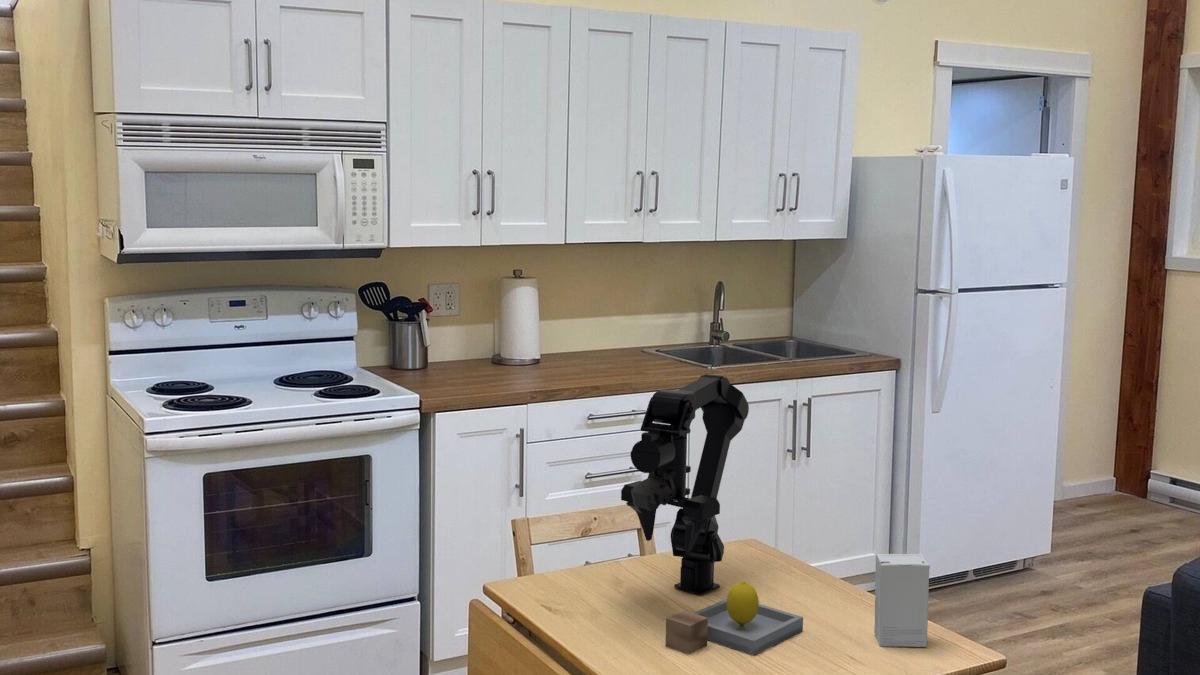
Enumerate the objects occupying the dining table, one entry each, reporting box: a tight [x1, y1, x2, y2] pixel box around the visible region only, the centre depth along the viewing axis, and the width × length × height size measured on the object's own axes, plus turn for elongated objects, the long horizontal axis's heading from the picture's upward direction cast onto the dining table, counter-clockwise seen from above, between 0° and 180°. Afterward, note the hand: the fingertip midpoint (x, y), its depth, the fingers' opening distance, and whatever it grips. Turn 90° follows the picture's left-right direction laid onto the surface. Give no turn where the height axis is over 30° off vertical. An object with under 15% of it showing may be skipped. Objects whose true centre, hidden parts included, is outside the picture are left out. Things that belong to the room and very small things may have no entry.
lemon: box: [726, 580, 760, 626], centre depth 206 cm, size 6×6×8 cm
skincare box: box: [873, 553, 931, 648], centre depth 202 cm, size 8×6×15 cm
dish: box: [693, 598, 804, 656], centre depth 206 cm, size 15×15×2 cm
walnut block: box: [665, 610, 708, 655], centre depth 199 cm, size 5×5×5 cm
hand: (668, 545), depth 214 cm, fingers open, 9 cm apart
